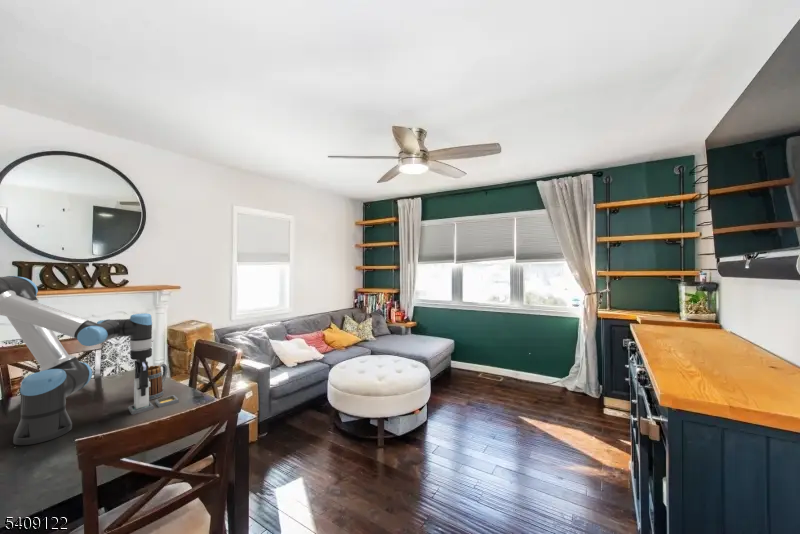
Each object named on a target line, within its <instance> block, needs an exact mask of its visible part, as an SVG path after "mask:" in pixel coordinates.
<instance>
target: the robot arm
mask: <svg viewBox="0 0 800 534" xmlns="http://www.w3.org/2000/svg"><path fill="white" fill-rule="evenodd" d="M38 292H39V290H38V286H37V285H36V283H35V282H33V280H31V279H29V278H27V277H23V276H18V275H17V276H16V275H7V276H0V316H3V317H6V318H7V319H8V321H9V322H10V324H11V325H12V327H13V328H14V329H15V331H16V332H17V334H18V335H19V337H20V338H21V340H22V341H23V342H24V344H25V346H26V347H27V349H29V351H30V353H31V355H33V357H34V359H35V360H36V361H37V364H38V365H39V366H40V367H41V368H40V370H39V371H36V372H34V373H32V374H29V375H28V376H26V377H24V378H23V379H22V381H21V383H20V388H19V392H20V421H19V423H18V426H17V427H16V430H15V432H14V434H13V439H12V440H13V441H12V442H13V444H14V445H15V446H16V445H17V446H28V445H29V446H30V445H35V444H39V443H40V444H41V443H44V442H48V441H51V440H54V439H57V438H59V437H62V436H63V435H65V434H67V433H69V432H70V431H71V430H72V429H73V422H72V419H71V417H70V415H69V414H68V411H67V410H66V405H67V404H66V403H67V400H66V399H67V397H69V396H71V395H72V394H74V393H76V392H78V391H80V390H81V389H83V388H84V387H85V386H87V385H88V384H89V382H90V381H91V379H92V377H93V369H92V368H91V366H90V365H89V364H88V363H86V362H83V361H80V360H79V359H78V357H77V356H76V355H75V356H74V355H70V354H69V353H68V351H67V350H66V349H65V347H64V346H63V345H62V343H61V341H60V340H59V338H58V337H57V336H56V334H55V333H59V334H62V335H65V336H67V337H71V338H75V339H77V342H79V344H81V345H82V346H85V347H93V346H96V345H99V344H102V343H104V342H107V341H109V340H112V339H114V338H119V337H120V338H121V337H130V338H129V339H130V341H129V342H130V343H129V344H130V345H129V347H130V352H129V353H130V360H133V361H134V379H137V378H139V388H137V389H138V390H139V404H141V403H145V402H147V387H148V367H150V366H149V362H148V361H147V359H148V358H151V357H152V356H153V349H152V345H153V342H154V339H153V319H152V315H151V314H150V313H147V312H145V313H134V314H131V315H130V317H129V318H123V319H119V318H118V319H103V320H98V321H97V322H95V321H92V320H88V319H86V318H83V317H80V316H77V315H75V314H71V313H69V312H66V311H62V310H61V309H57V308H54V307H51V306H49V305H45V304H43V303H40V302H39V299H38V297H37V296H38Z"/></svg>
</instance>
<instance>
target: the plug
mask: <svg viewBox="0 0 800 534" xmlns="http://www.w3.org/2000/svg"><path fill="white" fill-rule="evenodd" d="M149 387H150V381H149V378H148V387H147V402H145V403H141V404H139V390H138V389H137V388H139V378H137V379H135V378H134V379H133V405H134V407H135V408H136V409H138V408H142V407H146V406H149V401H150V400H149Z"/></svg>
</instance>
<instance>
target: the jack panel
mask: <svg viewBox="0 0 800 534" xmlns="http://www.w3.org/2000/svg"><path fill="white" fill-rule="evenodd" d="M178 403H180V398H178V397H177V396H176V395H175V394H172V395H168V396H164V397H160V398H157V399H154V404H155V405H156V406H157V407H158V408H163V407H167V406H170V405H174V404H178ZM154 404H153V403H152V401H151V400H149V406H146V407H142V408H138V409H136V408H135V407H134V404H132V405H128V408H127V409H128V411H129V413H130V415H135V414H139V413H143V412H148V411H150V410H154V409H155V405H154Z"/></svg>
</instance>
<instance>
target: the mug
mask: <svg viewBox="0 0 800 534" xmlns="http://www.w3.org/2000/svg"><path fill="white" fill-rule="evenodd" d="M167 375H168V367H167V364H166V363H159V364H158V365H150V366H149V367H148V378H149V381H150V387H149V401H155V399H159V398H162V397H163V396H164V390H165V387H163V384H164V383H165V381H166V378H167Z"/></svg>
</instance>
